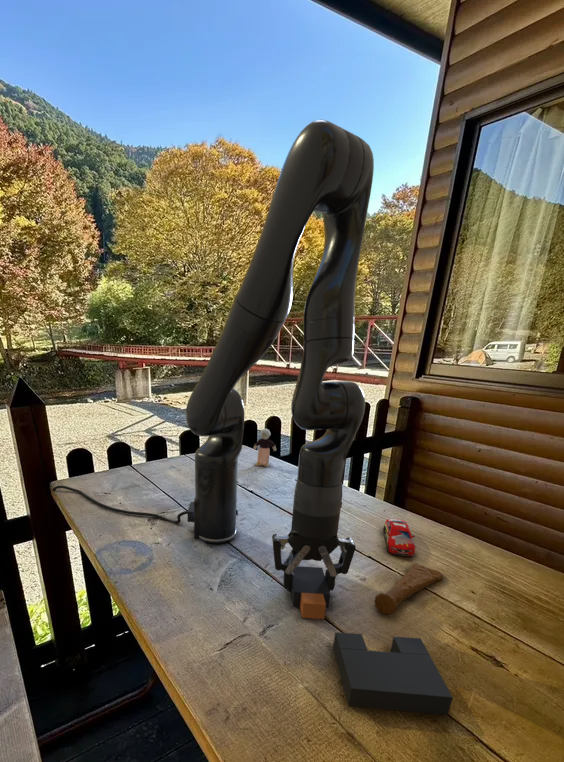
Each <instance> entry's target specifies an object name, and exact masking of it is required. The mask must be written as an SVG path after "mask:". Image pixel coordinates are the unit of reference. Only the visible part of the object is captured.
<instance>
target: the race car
mask: <svg viewBox="0 0 564 762" xmlns="http://www.w3.org/2000/svg"><path fill="white" fill-rule="evenodd" d="M382 531H383V535H384V540H385V544H386V551H387V553H388V552H389V553H391V554H393V555H396V556H400V557H412V556H414V555H415V553H416V545H415V542H414V541H415V540H414V538H415V537H416V536H415V535H413V534H412V532H411V530H410V527H409V525H408V522H407V521H405V520H404V519H397V518H387V519H386V520H385V522H384V525H383V530H382Z"/></svg>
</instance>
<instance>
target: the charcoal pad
mask: <svg viewBox="0 0 564 762" xmlns="http://www.w3.org/2000/svg"><path fill="white" fill-rule="evenodd" d="M289 592H290V598H291V604H292V607H297V608H299V609H300V615H301V618H302V619H314V620H325V618H326V617H325V615H326V610H327V609H329V607H330V601H331V590H330V591H329V588H328V585H327V582H326V579H325V571H324V568H323V567H320V566H319V567H318V566H302V565H301V566H300V565H298V566H296V567H295V569H294V570H293V582H292V591H289Z"/></svg>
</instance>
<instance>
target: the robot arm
mask: <svg viewBox="0 0 564 762" xmlns="http://www.w3.org/2000/svg"><path fill="white" fill-rule="evenodd" d="M374 161H375V159H374V154H373V151H372V148H371V146H370V144H368V143H367V142H366V141H365V140H364V139H363V138H361V136H358V135H356V134H354V133H353V132H351V131H349V130H347V129H345V128H344V127H342V126H339V125H337V124H335V123H333V122H332V121H329V120H326V119H316V120H313V121H311V122H310V123H308V124H307V125H306V126H305V127H304V128H303V129H302V130H301V131H300V132H299V134H298V135H297V136H296V138H295V140H294V141H293V142H292V145H291V147H290V148H289V151H288V153H287V155H286V157H285V160H284V162H283V165H282V168H281V170H280V174H279V177H278V179H277V183H276V186H275V189H274V192H273V195H272V198H271V200H270V201H271V202H270V204H269V208H268V211H267V214H266V218H265V220H264V224H263V227H262V230H261V233H260V236H259V239H258V240H257V241H258V242H257V244H256V247H255V249H254V252H253V255H252V257H251V259H250V262H249V265H248V267H247V269H246V273H245V275H244V276H243V279H242V282H241V284H240V286H239V288H238V290H237V292H236V295H235V296H234V300H233V303H232V305H231V306H230V309H229V312H228V314H227V318H226V320H225V323H224V326H223V328H222V330H221V332H220V335H219V337H218V339H217V342H216V344H215V346H214V349H213V351H212V353H211V356H210V357H209V360H208V361H207V364H206V365H205V368H204V369H203V372H202V374H201V375H200V377H199V379H198V381H197V383H196V385H195V386H194V388H193V390H192V392H191V394H190V396H189V398H188V401H187V403H186V408H185V420H186V424H187V427H188V429H189V430H190V432H191V433H193V434H194V435H196V436H199V437H207V439H205V442H204V443H202V445H200V446H199V447H198V448H196V450H195V453H194V499H193V501H190V503H189V505H188V509H187V510H185V511H181V512H179V513H177V516H176V519H177V520H173V519H169V518H168V517H167V518H166V517H164V516H163V515H159V514H156V513H152V512H143V511H142V512H141V511H130V510H126V509H120V508H115V507H112V506H109V505H106V504H103V503H102V502H100V501H97V500H96V499H94V498H93V497H91V496H89V495H88V494H86V493H84V492H83V491H81V490H79V489H77V488H73V487H70V486H67V485H56V486H54V487H52V489H51V491H52V492H54V491H56V490H59V489H63V490H67V491H68V490H69V491H71V492H75V493H77V494H80V495H81V496H83V497H84V498H85V499H87V500H89V501H90V502H92V503H94V504H95V505H97V506H99V507H102V508H104V509H107V510H110V511H113V512H115V513H116V512H117V513H120V514H126V515H133V516H144V517H145V516H146V517H151V518H156V519H159V520H161V521H165V522H168V523H172V524H174V525H177V524H180V523H181V521H182V520H181V517H182V516H185V515H187V522H188V523H193V539H194V540H199V541H201V542H204V543H206V544H215V545H216V544H217V545H218V544H226V543H229V542H231V541H232V540H234V539H235V538H236V537H237V517H238V516H239V510H237V503H238V502H237V499H238V498H237V497H238V465H239V464H238V462H239V457H240V455H241V452H242V450H243V442H244V441H243V440H244V429H245V405H244V401H243V397H242V396H241V394H240V393H239V392H238V390H236V389H235V386H236V384H237V383H238V382H239V381H240V380H241V379H242V378H243V376H244V375H245V374H247V372H248V371H249V370H250V369H252V367H254V365H256V364H257V363H258V362H259V361H260V360H261V359H262V358H263V357H264V356H265V354H266V353H267V352H268V351H269V350H270V348H271V347H272V345H273V344H274V343H275V341H276V340H277V338H278V335H279V334H280V331H281V330H282V328H283V326H284V324H285V322H286V320H287V318H288V316H289V313H290V311H291V309H292V305H293V304H292V303H293V296H294V264H295V255H296V252H297V249H298V245H299V243H300V241H301V237H302V235H303V234H304V230H305V228H306V226H307V224H308V223H309V220H310V218H311V216H312V215H313V212H314V213H315V212H316V213H318V214H320V215H322V219H323V232H324V240H323V241H324V243H323V250H322V254H321V259H320V262H319V265H318V267H317V270H316V272H315V275H314V278H313V279H312V281H311V284H310V287H309V289H308V291H307V295H306V298H305V301H304V302H305V303H304V308H303V352H302V359H301V363H300V367H299V372H298V376H297V380H296V384H295V387H294V391H293V394H292V399H291V404H290V412H291V416H292V419H293V421H294V423H295V424H296V426H297V427H298V428H300V429H301V430H304V431H322V430H326V431H325V433H324V434H323V435H322V436H321V437H320V438H318V439H315V440H312V441H308V442H306V443H305V444H303V445H302V446H301V448H300V450H299V455H298V464H297V477H296V483H295V486H294V494H293V503H292V504H293V505H292V517H291V526H290V527H291V528H290V531H289V533H288V534H287V535H282V536H281V535H280V534H278V533H274V534H272V535H271V540H272V551H273V552H272V553H273V560H274V562H273V563H274V569H275V570H276V571H282V572H283V580H282V581H283V586H284V588H285V589H286V590H287V592H290V591H292V582H293V570H294V569H295V567H296V566H300V564H301V562H302V561H316V562H323V564H324V565H325V568H326V569H325V571H324V575H325V579H326V582H327V585H328V588H329V591H330V592H331V591H334V589H335V584H336V579H337V578H336V577H337V575H341V574H342V575H347V574H348V573H349V570H350V567H351V564H352V561H353V558H354V555H355V552H356V547H357V546H356V544H355V542H354V540H353V538H352V537H349V536H347V537H346V538H339V537H338V533H339V532H338V531H339V524H340V519H341V518H340V516H341V510H342V507H343V480H344V473H345V466H346V459H347V456H348V454H349V451H350V449H351V447H352V444H353V442H354V440H355V438H356V435H357V433H358V431H359V429H360V426H361V425H362V422H363V418H364V416H365V411H366V398H365V397H366V396H365V394H364V391H363V389H362V388H361V387H360V386H359V384H358V383H355V382H354V381H347V380H346V381H323V380H324V378H325V375H326V372H327V371H328V370H329V368H332V367H336V366H340V365H343V364H345V363H348V362H349V361H350V360H351V359H352V358H353V355H354V348H355V347H354V346H355V340H354V339H355V304H356V288H357V287H356V286H357V278H358V277H357V276H358V270H359V263H360V258H361V253H362V252H361V251H362V246H363V239H364V233H365V227H366V221H367V215H368V212H369V211H368V210H369V205H370V199H371V194H372V187H373V181H374V179H373V178H374V167H375V163H374ZM279 535H280V536H279ZM287 544H288V545H289V546H290V547H291V549H290V551H289V554H288V556H287V558H286V559H285V560H283V559H282V551H281V550H284V549H285V548H286V545H287ZM338 547H339V550H340V551H341V552H340V555H339V558H338V562H337V563H334V562H333V559H332V557H331V553H333V552H334V551H335V550H336V549H337V548H338Z"/></svg>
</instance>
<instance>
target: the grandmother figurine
mask: <svg viewBox="0 0 564 762" xmlns="http://www.w3.org/2000/svg"><path fill="white" fill-rule="evenodd" d="M271 435H272V434H271V431H270V429H268V428H262V429H261V431H260V437H261V438H259V439H258V440H257V441H256V442H255V443H254V445H253V448H252V449H253V450H257V448H258V450H257V459H256V460H257V461H256V463H255V466H256V467H257V466H258V467H261V466H262V467H267V468H268V467H269V466H270V465H269V462H270V455H271V454H270V451H271V450H270V447H271V448H272V450H273V452H276V451H277V447H276V443H274V441H272V440H271V439H269V438H270V436H271Z"/></svg>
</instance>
